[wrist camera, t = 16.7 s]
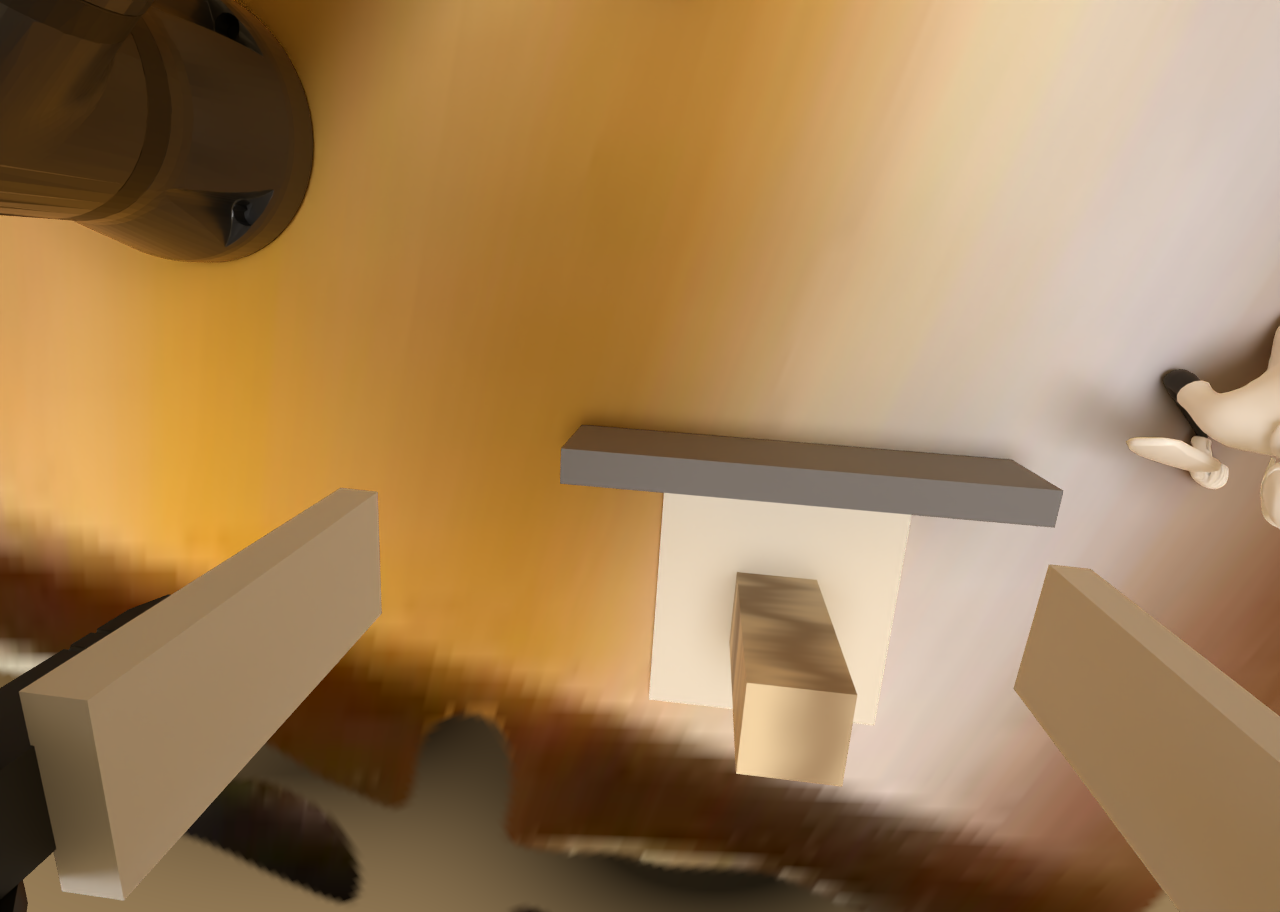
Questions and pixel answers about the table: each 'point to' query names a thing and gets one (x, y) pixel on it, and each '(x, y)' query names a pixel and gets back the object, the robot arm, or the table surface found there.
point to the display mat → (780, 546)
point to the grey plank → (810, 475)
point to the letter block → (788, 682)
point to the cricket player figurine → (1224, 429)
